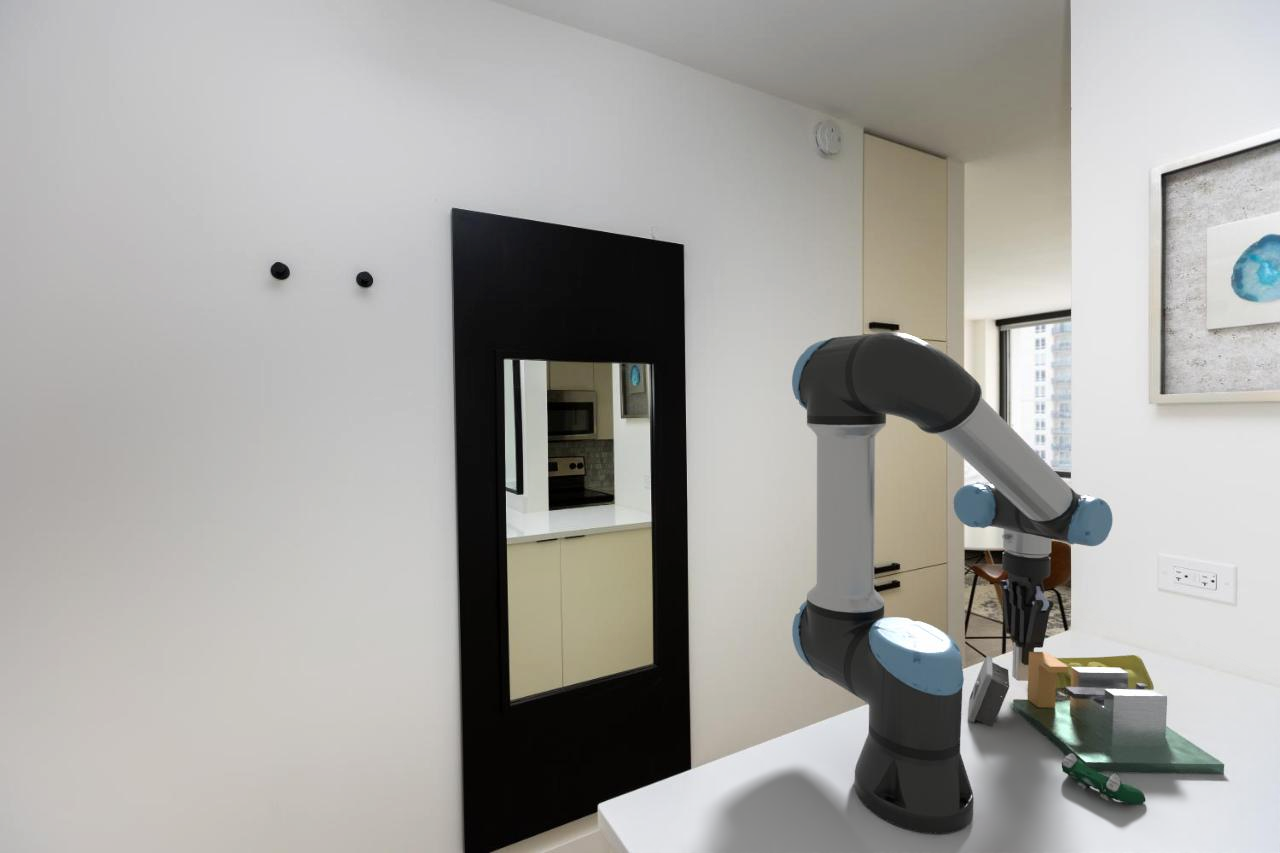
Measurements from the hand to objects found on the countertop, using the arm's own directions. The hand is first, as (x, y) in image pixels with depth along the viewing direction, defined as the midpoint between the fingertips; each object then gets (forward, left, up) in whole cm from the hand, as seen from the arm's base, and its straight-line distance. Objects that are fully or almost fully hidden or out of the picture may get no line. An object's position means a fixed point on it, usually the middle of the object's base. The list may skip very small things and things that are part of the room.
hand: (1022, 678), depth 116 cm
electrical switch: (-10, -7, -4) cm, 13 cm away
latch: (0, -7, -2) cm, 7 cm away
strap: (+6, -14, +3) cm, 16 cm away
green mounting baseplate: (+6, -14, -3) cm, 15 cm away
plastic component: (+15, +5, -4) cm, 16 cm away
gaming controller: (-5, -28, -4) cm, 28 cm away
